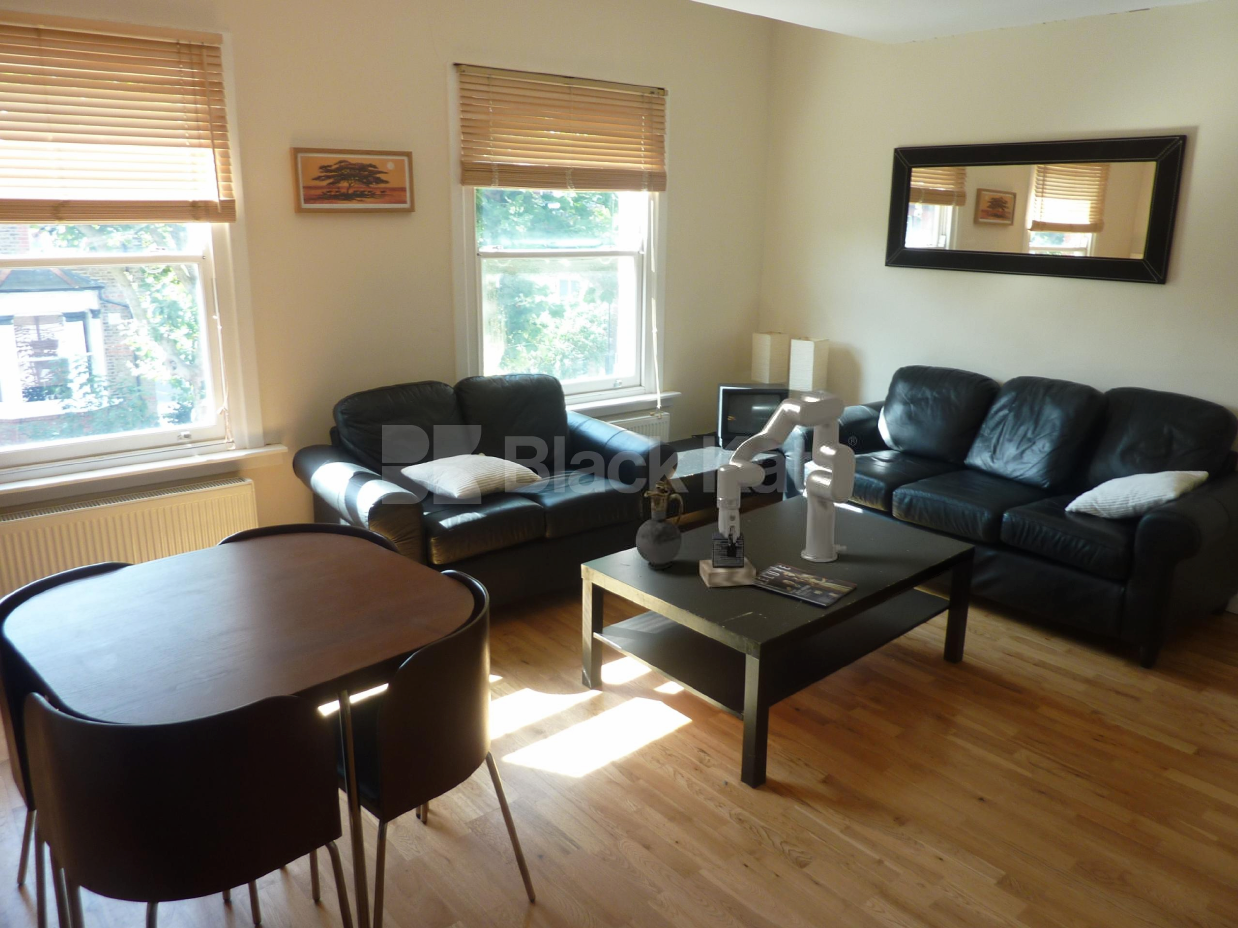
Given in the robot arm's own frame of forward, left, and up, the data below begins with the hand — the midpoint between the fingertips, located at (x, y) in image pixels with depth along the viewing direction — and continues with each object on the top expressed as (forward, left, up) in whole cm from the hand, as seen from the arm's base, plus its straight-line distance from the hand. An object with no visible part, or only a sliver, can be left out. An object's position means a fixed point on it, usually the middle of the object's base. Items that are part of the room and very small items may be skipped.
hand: (727, 551), depth 313 cm
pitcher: (+19, -17, -10) cm, 27 cm away
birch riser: (0, 0, -10) cm, 10 cm away
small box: (0, 0, -5) cm, 5 cm away
